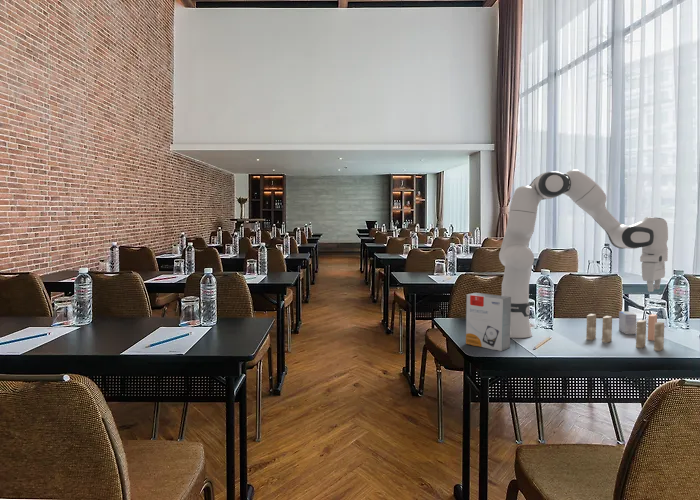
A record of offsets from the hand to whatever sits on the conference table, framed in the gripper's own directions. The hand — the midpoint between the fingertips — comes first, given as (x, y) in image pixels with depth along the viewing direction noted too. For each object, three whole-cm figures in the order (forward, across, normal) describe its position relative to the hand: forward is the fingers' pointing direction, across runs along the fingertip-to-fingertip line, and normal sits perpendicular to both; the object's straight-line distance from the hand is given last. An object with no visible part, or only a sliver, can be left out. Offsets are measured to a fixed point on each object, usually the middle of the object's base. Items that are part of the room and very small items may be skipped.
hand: (653, 290), depth 193 cm
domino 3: (+20, +17, 0) cm, 26 cm away
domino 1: (+20, +17, -18) cm, 32 cm away
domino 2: (+20, +17, -12) cm, 29 cm away
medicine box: (+20, -7, -11) cm, 24 cm away
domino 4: (+20, 0, 0) cm, 20 cm away
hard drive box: (+20, +58, -42) cm, 75 cm away
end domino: (+20, +17, +6) cm, 27 cm away
